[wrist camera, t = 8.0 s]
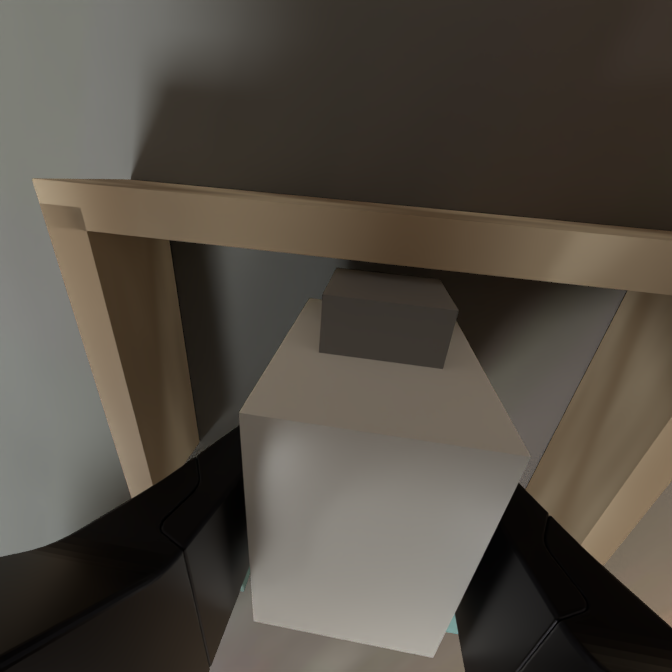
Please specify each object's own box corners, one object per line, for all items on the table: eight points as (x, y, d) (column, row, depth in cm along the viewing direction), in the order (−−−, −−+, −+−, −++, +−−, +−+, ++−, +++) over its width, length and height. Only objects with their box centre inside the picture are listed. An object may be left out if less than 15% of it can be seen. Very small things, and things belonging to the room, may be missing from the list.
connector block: (302, 452, 12) (254, 620, 7) (311, 255, 8) (232, 336, 4) (412, 470, 11) (433, 657, 7) (464, 272, 8) (568, 381, 4)
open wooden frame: (178, 438, 14) (131, 498, 12) (129, 179, 10) (31, 178, 7) (548, 498, 13) (591, 580, 10) (699, 233, 8) (850, 258, 6)
